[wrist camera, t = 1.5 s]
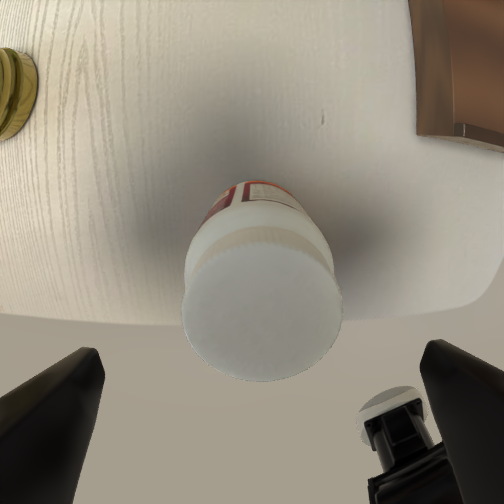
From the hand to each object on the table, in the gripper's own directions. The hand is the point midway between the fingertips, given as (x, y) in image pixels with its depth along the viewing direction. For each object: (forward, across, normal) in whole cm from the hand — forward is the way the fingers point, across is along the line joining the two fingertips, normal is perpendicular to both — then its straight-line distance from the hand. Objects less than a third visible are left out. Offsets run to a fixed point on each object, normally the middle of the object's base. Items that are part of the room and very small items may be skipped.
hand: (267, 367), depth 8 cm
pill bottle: (+14, 0, 0) cm, 14 cm away
